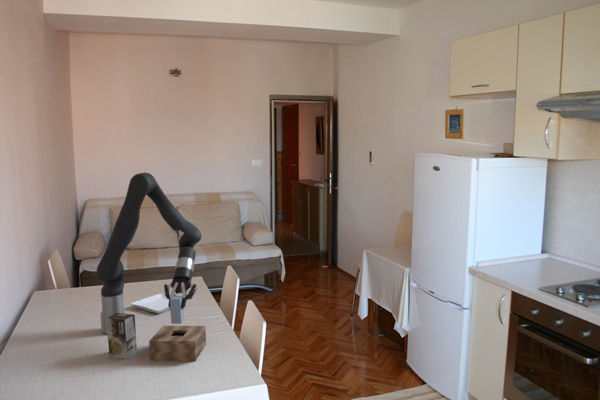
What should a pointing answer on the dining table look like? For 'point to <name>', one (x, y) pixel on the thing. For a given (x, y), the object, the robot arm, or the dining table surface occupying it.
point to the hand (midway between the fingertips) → (176, 307)
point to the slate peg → (176, 310)
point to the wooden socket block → (177, 343)
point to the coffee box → (121, 335)
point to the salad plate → (153, 303)
